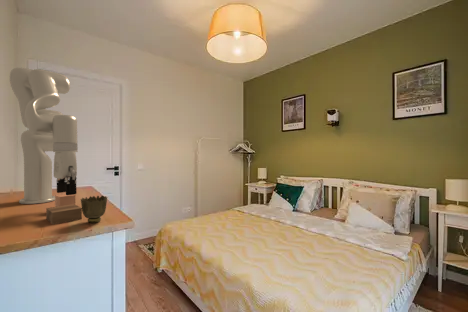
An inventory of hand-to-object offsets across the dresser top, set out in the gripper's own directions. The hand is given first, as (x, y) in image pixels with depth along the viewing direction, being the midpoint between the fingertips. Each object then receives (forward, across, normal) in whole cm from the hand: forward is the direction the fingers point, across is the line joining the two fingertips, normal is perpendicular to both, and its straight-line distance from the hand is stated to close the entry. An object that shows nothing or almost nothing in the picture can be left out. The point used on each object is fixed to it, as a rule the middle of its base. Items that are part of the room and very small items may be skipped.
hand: (66, 193), depth 89 cm
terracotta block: (+7, -1, 0) cm, 7 cm away
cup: (+8, +22, +1) cm, 23 cm away
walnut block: (+7, +11, -4) cm, 14 cm away
